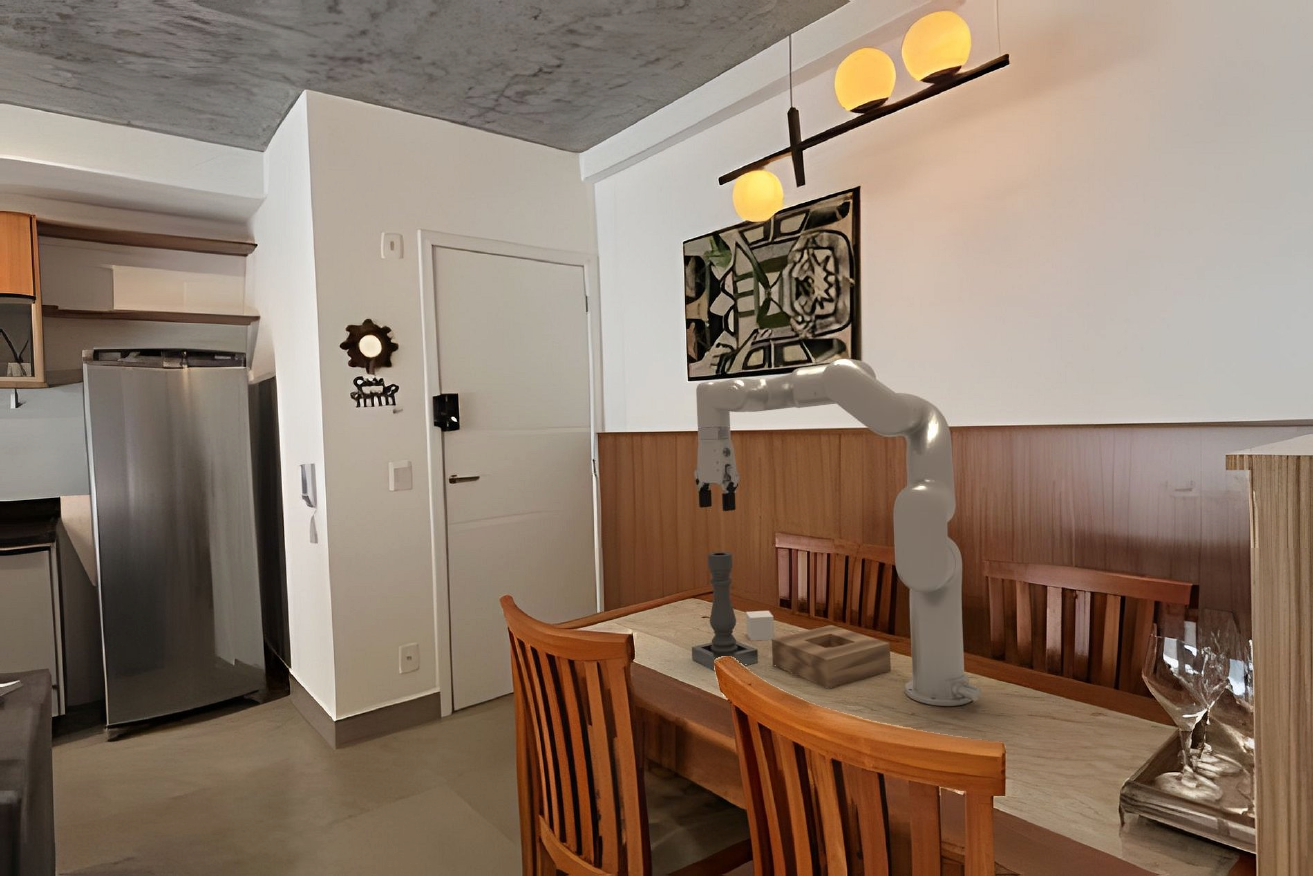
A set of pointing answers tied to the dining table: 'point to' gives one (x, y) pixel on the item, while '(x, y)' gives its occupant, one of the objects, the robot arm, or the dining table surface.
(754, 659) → the metal collar
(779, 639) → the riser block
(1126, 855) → the dining table surface
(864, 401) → the robot arm
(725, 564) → the candle holder
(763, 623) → the white cube
